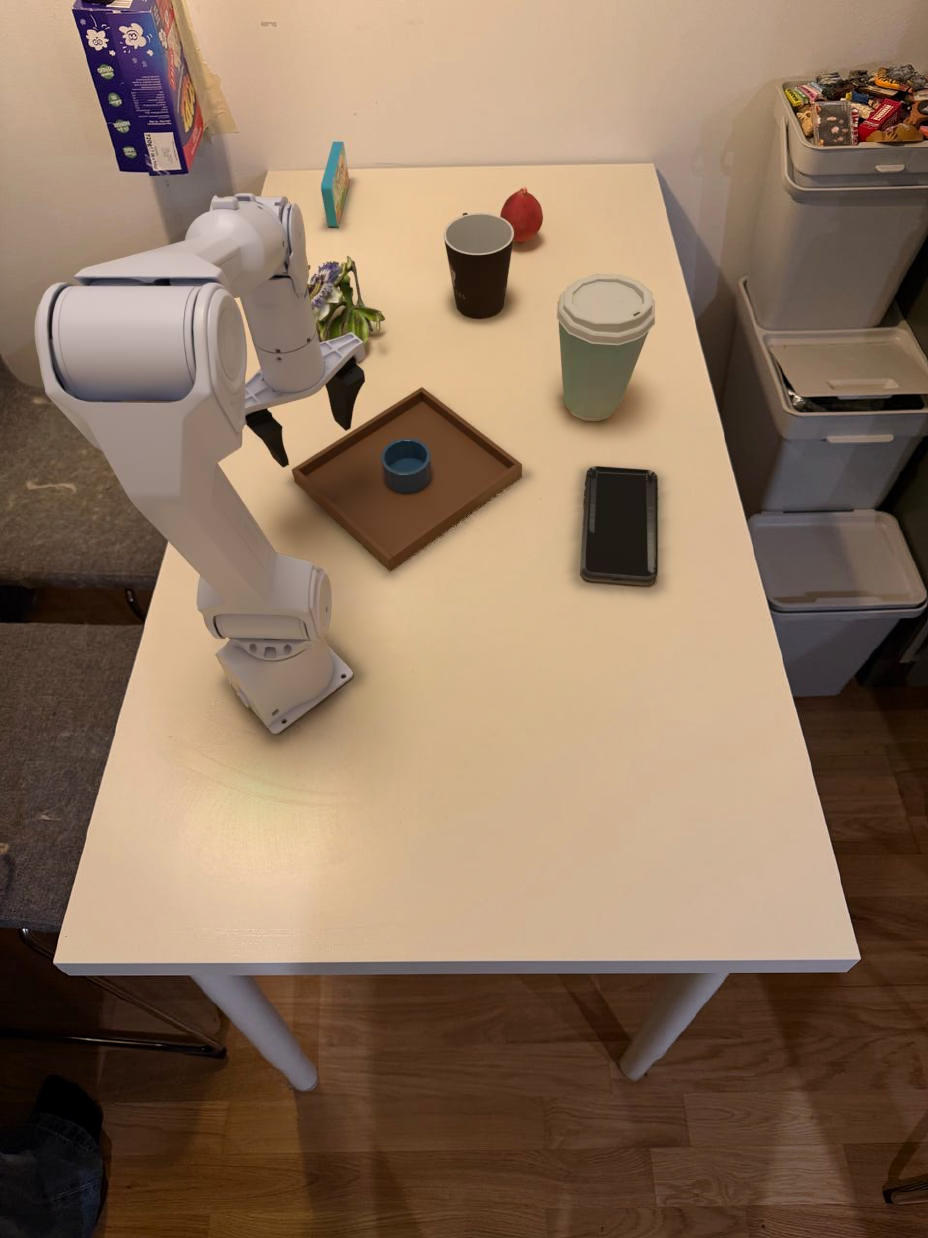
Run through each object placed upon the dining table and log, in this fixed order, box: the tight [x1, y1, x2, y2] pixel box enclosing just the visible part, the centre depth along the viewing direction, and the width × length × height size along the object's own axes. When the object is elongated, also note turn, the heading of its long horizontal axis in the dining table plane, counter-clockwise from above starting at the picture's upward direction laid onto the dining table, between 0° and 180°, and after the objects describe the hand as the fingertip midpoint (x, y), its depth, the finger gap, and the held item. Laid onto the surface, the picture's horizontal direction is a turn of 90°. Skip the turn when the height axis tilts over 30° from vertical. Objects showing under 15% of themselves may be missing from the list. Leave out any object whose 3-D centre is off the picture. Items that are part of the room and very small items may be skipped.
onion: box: [499, 186, 544, 244], centre depth 115 cm, size 6×6×8 cm
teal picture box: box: [320, 141, 350, 228], centre depth 122 cm, size 12×2×6 cm, turn 176°
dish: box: [381, 438, 432, 494], centre depth 93 cm, size 5×5×3 cm
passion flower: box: [307, 255, 386, 347], centre depth 105 cm, size 11×11×12 cm
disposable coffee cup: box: [555, 273, 656, 422], centre depth 94 cm, size 11×11×15 cm
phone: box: [579, 465, 659, 587], centre depth 90 cm, size 8×1×15 cm
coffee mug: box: [443, 212, 514, 320], centre depth 108 cm, size 12×9×10 cm
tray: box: [291, 386, 523, 572], centre depth 94 cm, size 19×17×2 cm
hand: (312, 442), depth 85 cm, fingers open, 7 cm apart
